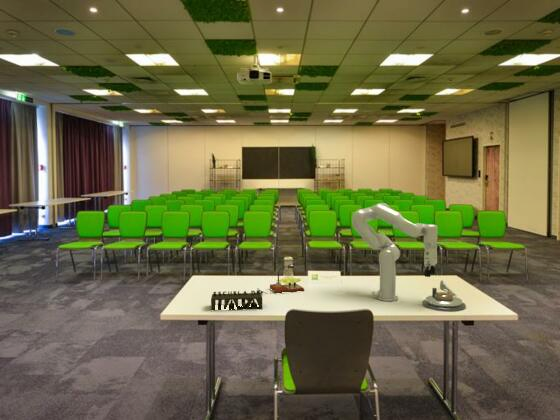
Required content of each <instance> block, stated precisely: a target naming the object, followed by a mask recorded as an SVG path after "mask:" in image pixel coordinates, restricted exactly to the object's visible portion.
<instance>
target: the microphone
mask: <svg viewBox="0 0 560 420" xmlns="http://www.w3.org/2000/svg"><path fill="white" fill-rule="evenodd" d="M284 268H288V269H289V270H291V269H294V268H295V265H294V264H290V263H289V264H288V265H287V266H282V267H281V268H280V269H279V270H278V272H277V282H275V283H273V284H270V285H269V289H272V290H273V291H272V290H271V292H272V293H274V292H276V293H280V294H283V293H282V292H291V293H298V292H297V291H302V292H305V287H303V286H301V285H299V284H297V283H296V282H293V283H291V282H288V284H282V283H281V282H280V272H281V271H282V270H283V269H284ZM256 289H257V290H256V292H257V291H260V292H259V293H261V294H264V293H265V294H266V292H265V291H262V290H261V289H260V288H258V287H257V288H256ZM276 293H275V294H276Z"/></svg>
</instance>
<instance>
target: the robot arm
mask: <svg viewBox="0 0 560 420" xmlns="http://www.w3.org/2000/svg"><path fill="white" fill-rule="evenodd" d="M402 215H403V214H401V212H399V211H396V210H395V209H393V208H391V207H390V206H389V205H388V203H385V202H380V203H375V204H374V205H373V206H369V207H365V208H360V209H357V210H356V211H355V212H354V213H353V215H352V218H351V223H352V224H351V225H352V227H353V229H354V230H355V231H356V232H357V233H358V235H359V236H361V238H362V239H363V241H365V242H366V244H368V246H369V247H370V249H372V250H374V251H377V250H379V251H380V252H379V254H378V261H379V289H378V291H371V295H372V296H376V298H377V300H379V301H381V302H383V301H385V302H395V301H398V300H399V297H398V295H396V281H397V280H396V279H397V278H396V277H397V276H396V275H397V273H396V271H397V268H396V261H397V260H398V259H399V258H400V256H401V252H400V249H399V247H398V246H396V244H395V243H394V242H393V241H392V239H390V238H389V236H387V235H386V234H384V233H379V232H378V233H377V232H376V230H374V228H372V226H371V225H370V224H368V223H367V222H371V221H373V220H377V219H380V220H382V221H383V222H386V223H387V224H388V225H391V226H393V227H394V228H396V229H397V230H398V231H400V232H402V233H403V234H406V235H407V236H410V237H411V238H418V237H421V236H423V248H424V253H423V265H424V277H426V278H430V277H431V275H435V274H436V265H437V264H438V251H437V249H438V231H439V230H438V225H436V224H432V223H429V224H427V223H423V222H422V223H421V222H417V223H413V222H411V221H409V220H407V219H406V218H404V217H403V216H402Z"/></svg>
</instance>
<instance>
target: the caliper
mask: <svg viewBox="0 0 560 420" xmlns="http://www.w3.org/2000/svg"><path fill="white" fill-rule="evenodd" d="M439 289H440V290H446V291H447V292H452V294H453V297H457V294H456V293H455V292H454V291H453V290H451V288H449V287H448V286H447V284H445V282H444V280H443V279H441V280H440V282H439Z"/></svg>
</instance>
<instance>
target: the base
mask: <svg viewBox="0 0 560 420" xmlns="http://www.w3.org/2000/svg"><path fill="white" fill-rule="evenodd" d="M447 293H451V294H452V292H449V291H447ZM421 303H422V306H423V307H424V308H427V309H429V310H434V311H440V312H460V311H464V310H465V309H466V303H464V302H463V301H462V305H461V306H459V307H453V308H445V307H436V306H432V305H429V304H427V303H426V299H423V300H422V302H421Z"/></svg>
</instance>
